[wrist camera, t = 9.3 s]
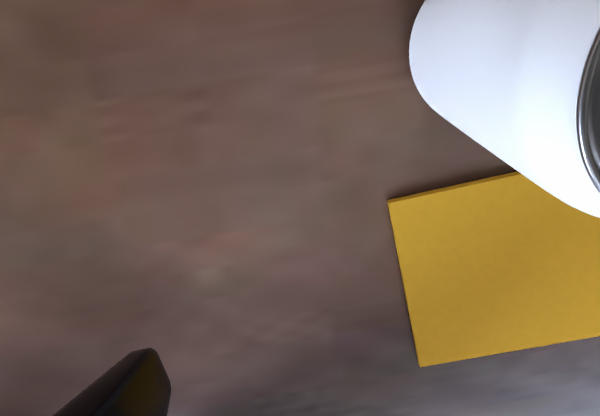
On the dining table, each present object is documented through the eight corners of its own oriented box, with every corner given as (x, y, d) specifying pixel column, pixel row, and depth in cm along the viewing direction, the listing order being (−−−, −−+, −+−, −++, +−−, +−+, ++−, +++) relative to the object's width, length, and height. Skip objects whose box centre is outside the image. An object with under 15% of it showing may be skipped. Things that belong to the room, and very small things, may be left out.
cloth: (648, 322, 23) (653, 326, 22) (418, 362, 24) (419, 367, 24) (659, 139, 19) (665, 141, 19) (386, 199, 21) (388, 203, 20)
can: (425, 143, 19) (571, 299, 8) (389, -11, 17) (526, -73, 6) (576, 95, 19) (966, 202, 7) (559, -74, 16) (1091, -284, 5)
